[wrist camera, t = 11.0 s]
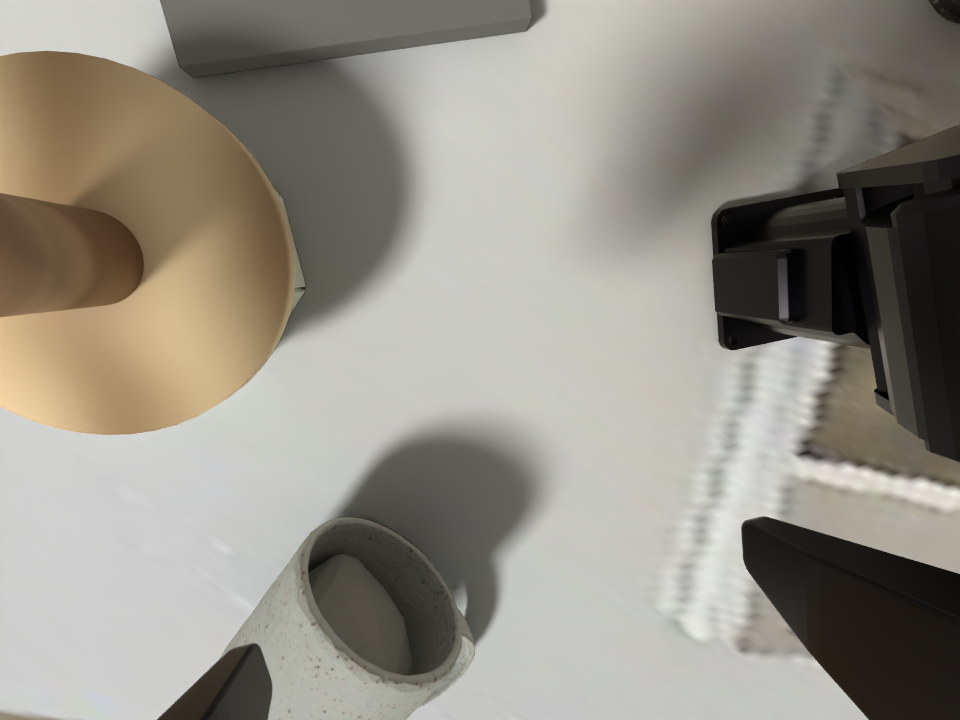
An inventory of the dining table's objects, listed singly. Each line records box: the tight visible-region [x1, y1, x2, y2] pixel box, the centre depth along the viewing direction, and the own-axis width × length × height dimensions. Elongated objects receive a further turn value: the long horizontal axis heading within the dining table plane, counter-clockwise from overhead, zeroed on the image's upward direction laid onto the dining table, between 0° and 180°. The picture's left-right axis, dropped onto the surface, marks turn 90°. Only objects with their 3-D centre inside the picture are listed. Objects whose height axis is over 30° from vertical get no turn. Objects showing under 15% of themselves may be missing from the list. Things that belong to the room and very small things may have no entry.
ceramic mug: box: [220, 517, 475, 720], centre depth 19 cm, size 11×8×8 cm
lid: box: [0, 51, 296, 435], centre depth 12 cm, size 11×11×5 cm
